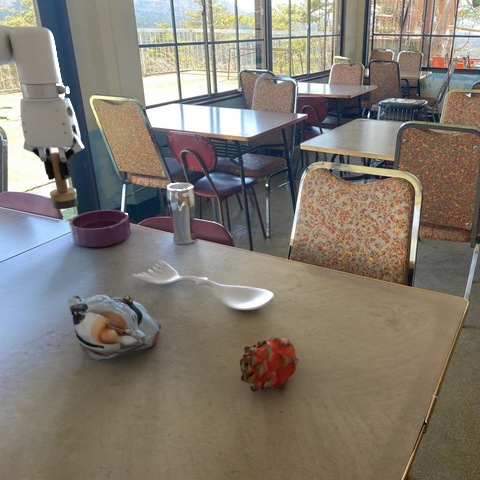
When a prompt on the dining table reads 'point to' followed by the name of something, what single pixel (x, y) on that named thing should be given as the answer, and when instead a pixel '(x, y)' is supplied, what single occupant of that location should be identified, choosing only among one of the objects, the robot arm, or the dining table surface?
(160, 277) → the spoon
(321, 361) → the dining table surface
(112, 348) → the lucky cat figurine
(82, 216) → the bowl
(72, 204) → the dish brush
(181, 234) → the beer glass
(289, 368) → the dragon fruit
